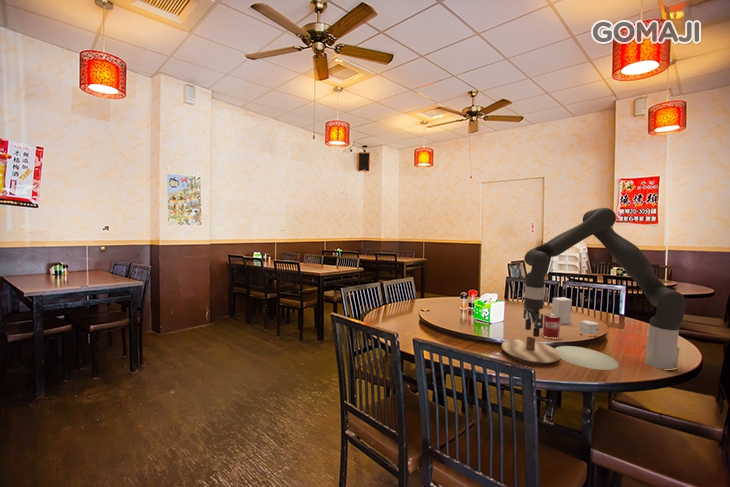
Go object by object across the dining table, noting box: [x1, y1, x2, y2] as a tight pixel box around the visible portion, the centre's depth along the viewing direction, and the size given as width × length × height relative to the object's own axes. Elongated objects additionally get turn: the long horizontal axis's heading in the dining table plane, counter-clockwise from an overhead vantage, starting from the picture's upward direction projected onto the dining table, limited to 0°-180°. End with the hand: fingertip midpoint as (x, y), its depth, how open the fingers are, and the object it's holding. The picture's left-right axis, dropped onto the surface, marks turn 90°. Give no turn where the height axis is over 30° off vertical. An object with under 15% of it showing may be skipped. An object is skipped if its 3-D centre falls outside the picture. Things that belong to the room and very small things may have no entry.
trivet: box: [553, 345, 619, 371], centre depth 147 cm, size 24×24×1 cm
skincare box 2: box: [578, 319, 600, 334], centre depth 175 cm, size 6×6×7 cm
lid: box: [501, 336, 560, 363], centre depth 147 cm, size 23×23×6 cm
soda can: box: [542, 312, 561, 338], centre depth 170 cm, size 7×7×12 cm
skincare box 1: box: [551, 296, 573, 326], centre depth 194 cm, size 8×6×15 cm
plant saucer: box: [508, 354, 553, 366], centre depth 147 cm, size 21×21×3 cm
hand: (531, 333), depth 146 cm, fingers open, 8 cm apart
